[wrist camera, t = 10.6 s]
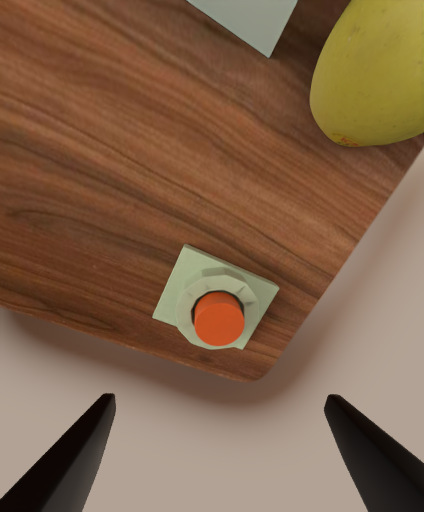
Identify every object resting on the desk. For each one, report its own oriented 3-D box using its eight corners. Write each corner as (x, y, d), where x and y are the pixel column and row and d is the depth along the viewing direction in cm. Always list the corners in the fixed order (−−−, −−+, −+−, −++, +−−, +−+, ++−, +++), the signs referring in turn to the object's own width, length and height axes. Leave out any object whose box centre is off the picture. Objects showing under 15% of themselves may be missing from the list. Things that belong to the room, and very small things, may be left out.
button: (187, 322, 16) (186, 337, 14) (206, 284, 15) (207, 295, 13) (227, 337, 16) (231, 352, 15) (247, 301, 15) (253, 313, 14)
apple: (269, 142, 14) (506, -140, 4) (307, 46, 14) (592, -402, 5) (356, 190, 15) (688, 71, 5) (387, 102, 16) (736, -150, 6)
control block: (154, 310, 18) (146, 331, 15) (184, 242, 16) (182, 252, 14) (240, 341, 20) (247, 365, 17) (274, 282, 18) (289, 298, 15)
